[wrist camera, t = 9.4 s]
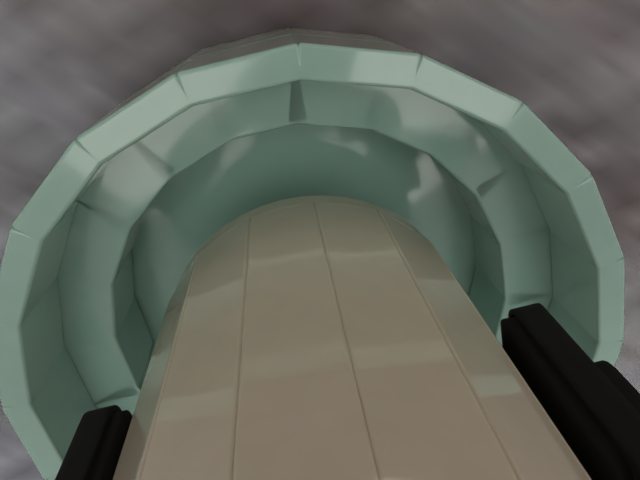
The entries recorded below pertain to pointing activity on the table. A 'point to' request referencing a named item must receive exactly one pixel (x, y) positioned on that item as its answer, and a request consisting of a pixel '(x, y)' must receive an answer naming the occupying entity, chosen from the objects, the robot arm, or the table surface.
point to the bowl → (278, 184)
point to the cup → (332, 362)
